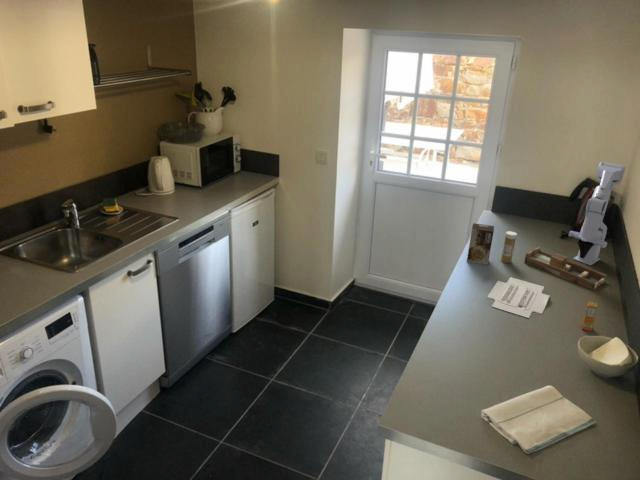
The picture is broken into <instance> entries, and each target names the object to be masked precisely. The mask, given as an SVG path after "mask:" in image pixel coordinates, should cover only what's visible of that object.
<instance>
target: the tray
mask: <svg viewBox="0 0 640 480" xmlns="http://www.w3.org/2000/svg"><path fill="white" fill-rule="evenodd" d="M544 289H545V286H543V285H539V284H536V283H532V282H529V281H525V280H522V279H518V278H515V277H509V279H508V280H507V281H506V282H504V281H500V280H497V281H496V283H495V285H494V286H493V287H492V289H491V290H490V291H489V294H488V295H487V299H491V300H494V301H493V303H492V305H491V307H493V308H496V309H498V310H502V311H505V312H508V313H511V314H515V315H518V316H520V317H524V318H528V319H530V318H531V315H532V314H533V313H536V314H540V315H543V312H544V310H545V308H546V306H547V304H548V302H549V299H550V298H551V295H550V294H546V293H543V291H544Z"/></svg>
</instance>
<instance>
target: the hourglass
mask: <svg viewBox="0 0 640 480" xmlns="http://www.w3.org/2000/svg"><path fill="white" fill-rule="evenodd" d="M597 311H598V302H593V301H587V306H586V309H585V313H584V316H583V317H584V318H583V320H582V325H581V330H583V329H584V331H587V330H588V332H592V330H593V328H594V323H595V320H596V316H597Z"/></svg>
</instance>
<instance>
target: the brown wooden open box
mask: <svg viewBox="0 0 640 480" xmlns="http://www.w3.org/2000/svg"><path fill="white" fill-rule="evenodd" d="M553 255H554V254H551V253H549V252H547V251H546V252H545V251H543V250H541V247H540V246H538V247H536V248H534V249H532V250H530V251H529V252H527V253H526V254H525V257H524V262H523V263H524V264H526V265H529V266H531V267H534V268H536V269H539V270H542V271H544V272H547V273H549V274H552V275H554V276H556V277H559V278H561V279H564V280H567V281H569V282H573V283H575V284H577V285H579V286H582V287H584V288H586V289H589V290H592V291H594V290H595V289H597V288H598V287H599V286H600V284H601V285H602V284H603V283H605V281H606V278H607V274H605V273H603V272H599V271H598V270H595V269H591V268H589V267H587V266H584V265H581V264H578V263H577V262H573V261H570V260H568V259H567V263H566V266H564V267H563V268H561V269H560V268H557V267H555V266H552V265H549V263H550V259H551V256H553ZM597 286H598V287H597ZM593 289H594V290H593Z"/></svg>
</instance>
